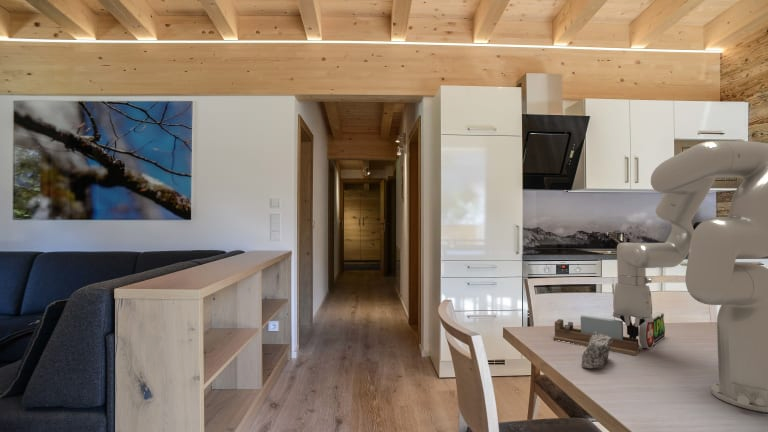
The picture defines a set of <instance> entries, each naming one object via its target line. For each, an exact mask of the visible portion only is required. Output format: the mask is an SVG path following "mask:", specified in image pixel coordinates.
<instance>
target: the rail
mask: <svg viewBox="0 0 768 432" xmlns="http://www.w3.org/2000/svg"><path fill="white" fill-rule="evenodd" d="M564 323H565V322H564V319H560V318H559V319H557V320H555V321H554V336H553V339H554V340H553V341H555V340H560V341H565V342H570V343H569V344H571V343H574V344H573V345H576V344H579V345H578V346H581V345H584V346H583V347H586V346H588V344H589V340H590V338H591V337H592V335H590V334H584V333H581V328H574V322H571V321H568V322H567V324H564ZM560 341H559V342H560ZM565 342H564V343H565ZM639 350H640V345H639V338H636V339H633V338H629V336H624V335H623V340H619V339H614V338H613V341H612V343H611V346H610V349H609V352H612V351H613V353H619V354H624V355H629V356H635V357H636V356H637V354H638V352H639Z"/></svg>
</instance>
